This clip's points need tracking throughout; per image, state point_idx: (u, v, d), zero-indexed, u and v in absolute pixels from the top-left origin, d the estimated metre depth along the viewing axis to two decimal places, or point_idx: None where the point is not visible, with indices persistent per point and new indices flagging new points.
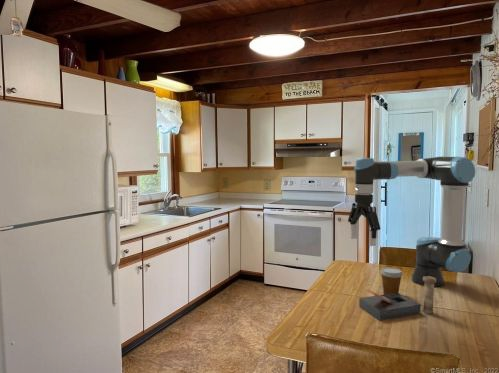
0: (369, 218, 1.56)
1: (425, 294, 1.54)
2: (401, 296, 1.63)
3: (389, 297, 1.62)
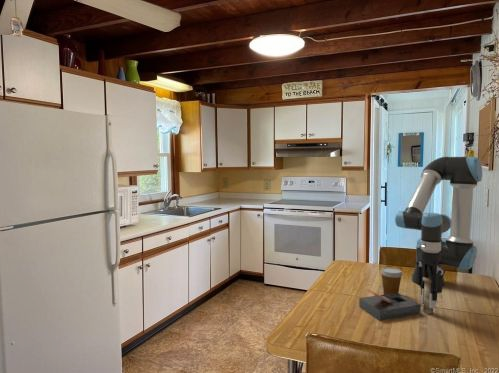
0: (433, 279, 1.51)
1: (425, 294, 1.54)
2: (401, 296, 1.63)
3: (389, 297, 1.62)
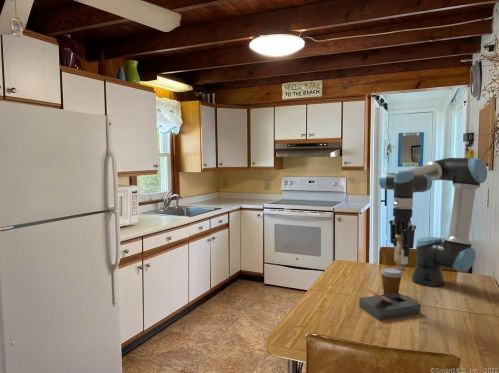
0: (405, 235, 1.54)
1: (397, 251, 1.56)
2: (401, 296, 1.63)
3: (389, 297, 1.62)
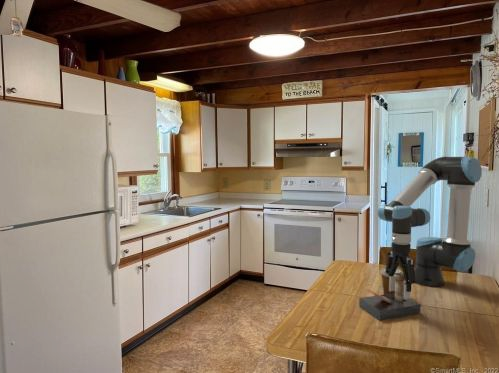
0: (405, 270, 1.54)
1: (396, 291, 1.58)
2: None
3: (389, 297, 1.62)
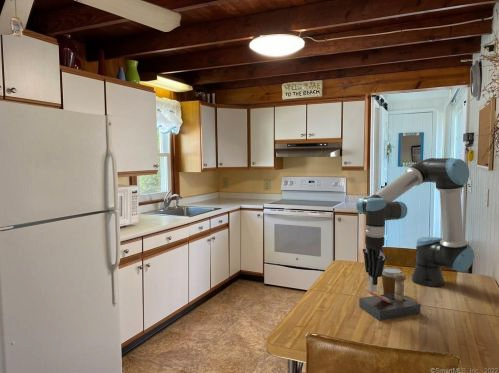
0: (375, 264, 1.52)
1: (395, 291, 1.58)
2: None
3: (389, 297, 1.62)
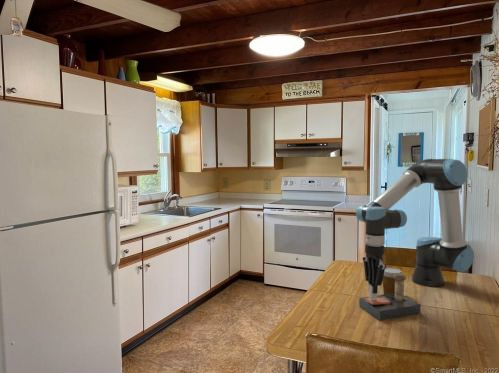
0: (375, 273, 1.52)
1: (395, 291, 1.58)
2: None
3: (389, 297, 1.62)
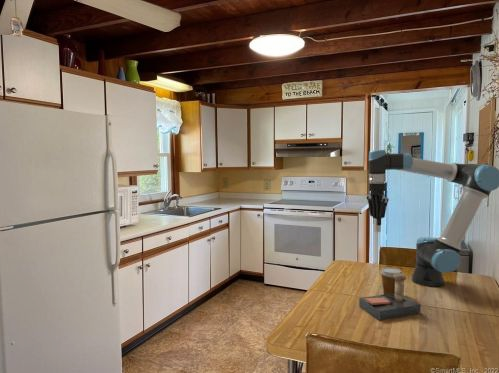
0: (379, 207, 1.75)
1: (395, 291, 1.58)
2: None
3: (389, 297, 1.62)
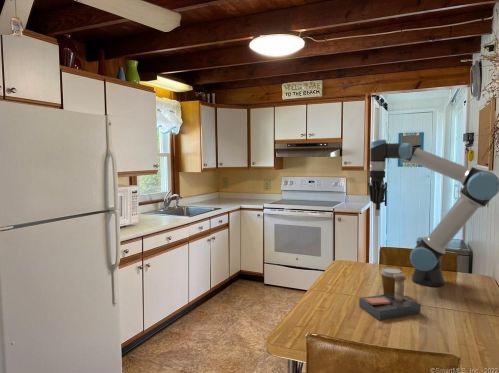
0: (378, 192, 1.88)
1: (395, 291, 1.58)
2: None
3: (389, 297, 1.62)
